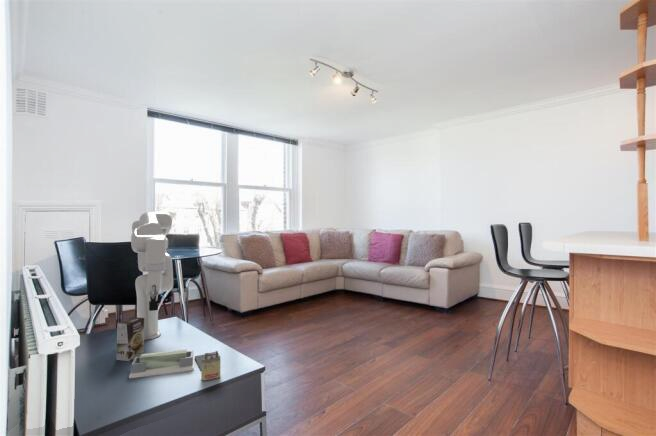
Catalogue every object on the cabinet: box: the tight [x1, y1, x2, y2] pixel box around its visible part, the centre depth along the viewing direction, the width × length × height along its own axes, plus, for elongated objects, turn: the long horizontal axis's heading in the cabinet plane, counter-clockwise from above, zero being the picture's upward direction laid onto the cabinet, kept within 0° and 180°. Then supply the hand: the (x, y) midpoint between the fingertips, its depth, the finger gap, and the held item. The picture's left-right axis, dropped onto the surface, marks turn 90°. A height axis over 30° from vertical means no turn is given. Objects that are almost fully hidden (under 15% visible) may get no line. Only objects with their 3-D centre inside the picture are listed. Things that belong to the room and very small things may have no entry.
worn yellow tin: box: [200, 350, 222, 381], centre depth 132 cm, size 7×4×10 cm, turn 119°
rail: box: [139, 348, 188, 370], centre depth 139 cm, size 4×17×5 cm, turn 110°
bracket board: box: [128, 350, 195, 379], centre depth 139 cm, size 11×23×4 cm, turn 110°
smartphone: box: [194, 353, 205, 372], centre depth 145 cm, size 7×1×15 cm
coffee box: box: [116, 316, 145, 362], centre depth 150 cm, size 9×6×16 cm
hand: (155, 306), depth 145 cm, fingers open, 9 cm apart
